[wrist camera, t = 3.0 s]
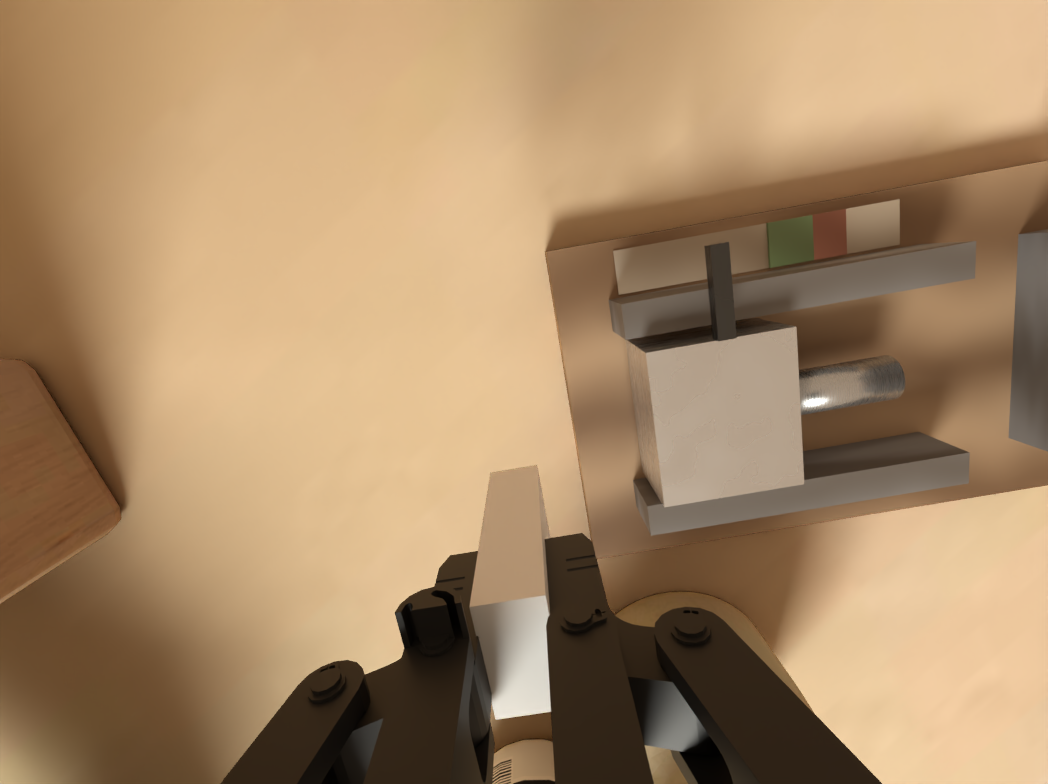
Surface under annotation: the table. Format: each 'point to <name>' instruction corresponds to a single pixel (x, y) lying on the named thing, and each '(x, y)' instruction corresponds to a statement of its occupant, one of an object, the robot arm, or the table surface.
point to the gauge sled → (736, 399)
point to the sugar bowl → (651, 608)
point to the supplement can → (525, 763)
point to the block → (43, 484)
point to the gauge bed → (831, 350)
